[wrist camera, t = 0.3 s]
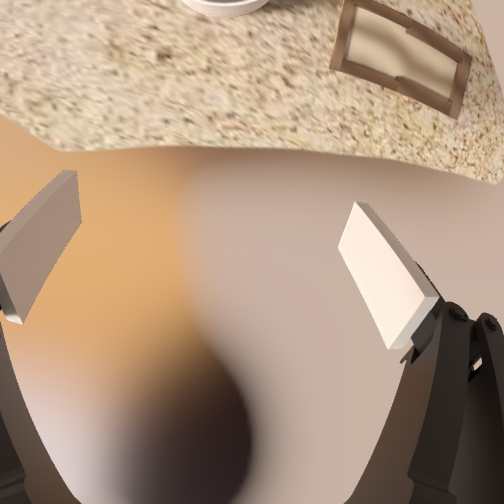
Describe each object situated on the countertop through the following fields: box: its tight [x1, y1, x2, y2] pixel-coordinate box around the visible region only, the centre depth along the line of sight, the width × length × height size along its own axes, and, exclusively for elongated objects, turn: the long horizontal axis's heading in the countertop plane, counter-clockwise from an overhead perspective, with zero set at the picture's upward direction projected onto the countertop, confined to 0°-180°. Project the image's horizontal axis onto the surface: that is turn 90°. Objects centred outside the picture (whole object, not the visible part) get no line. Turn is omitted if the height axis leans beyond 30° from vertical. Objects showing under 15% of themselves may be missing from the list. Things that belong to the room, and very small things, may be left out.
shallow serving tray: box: [329, 0, 472, 120], centre depth 30 cm, size 12×23×2 cm, turn 80°
